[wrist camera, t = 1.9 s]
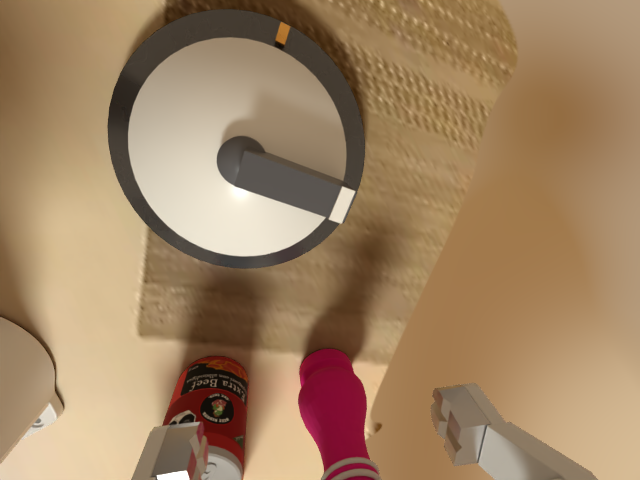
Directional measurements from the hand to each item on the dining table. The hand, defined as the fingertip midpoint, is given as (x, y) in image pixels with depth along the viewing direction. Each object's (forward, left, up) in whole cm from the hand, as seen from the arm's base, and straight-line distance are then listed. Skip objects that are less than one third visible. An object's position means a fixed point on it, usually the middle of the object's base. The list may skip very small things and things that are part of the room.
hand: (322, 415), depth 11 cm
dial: (+1, +7, -19) cm, 20 cm away
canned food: (-19, -9, -21) cm, 29 cm away
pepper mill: (-9, -17, -21) cm, 28 cm away
